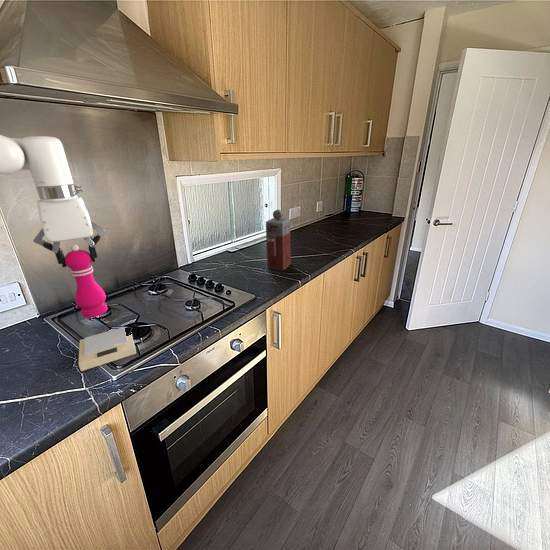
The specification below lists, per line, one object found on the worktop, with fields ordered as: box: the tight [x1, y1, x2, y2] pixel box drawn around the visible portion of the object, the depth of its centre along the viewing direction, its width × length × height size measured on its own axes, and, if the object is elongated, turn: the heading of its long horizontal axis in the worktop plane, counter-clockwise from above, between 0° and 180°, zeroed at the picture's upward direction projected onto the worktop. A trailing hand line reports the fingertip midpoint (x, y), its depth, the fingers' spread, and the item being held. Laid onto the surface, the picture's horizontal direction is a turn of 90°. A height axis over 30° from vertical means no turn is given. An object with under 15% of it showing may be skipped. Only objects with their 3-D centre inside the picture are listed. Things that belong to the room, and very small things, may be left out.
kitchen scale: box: [78, 326, 137, 372], centre depth 87 cm, size 14×13×3 cm
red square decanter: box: [265, 209, 292, 271], centre depth 140 cm, size 9×11×28 cm
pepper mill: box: [64, 244, 109, 319], centre depth 79 cm, size 7×7×20 cm
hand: (79, 262), depth 77 cm, fingers closed on pepper mill, 6 cm apart
